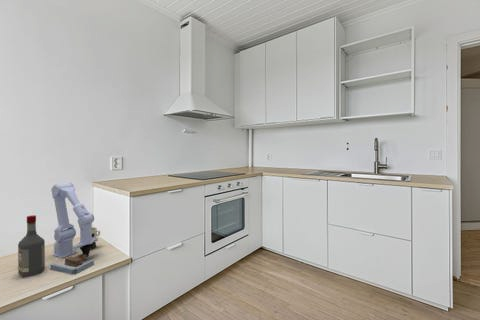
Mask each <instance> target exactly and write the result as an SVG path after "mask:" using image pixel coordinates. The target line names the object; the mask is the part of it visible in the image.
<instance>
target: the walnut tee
mask: <svg viewBox="0 0 480 320" xmlns="http://www.w3.org/2000/svg"><path fill="white" fill-rule="evenodd" d="M85 261H87V258H86V254H83V253H80V254H78V255H75V256H71V255H69V256H67V257H64V266H68V267H72V268H76V267H78V266H80V265H82V264H83V262H85Z"/></svg>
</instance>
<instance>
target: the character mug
mask: <svg viewBox="0 0 480 320" xmlns="http://www.w3.org/2000/svg"><path fill="white" fill-rule="evenodd" d="M98 236H101V230H98V227H95V226H92V238H95V237H96V238H98ZM96 242H97V241H95V242H92V244H93V246H92V248H91V250H92V249H95V248H96V247H97V244H96Z"/></svg>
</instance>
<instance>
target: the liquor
mask: <svg viewBox="0 0 480 320" xmlns="http://www.w3.org/2000/svg"><path fill="white" fill-rule="evenodd" d="M36 225H37V215H35V214H34V215H33V214H32V215H28V216H26V227H27V228H26V235H25V236H24V237H23V238H21V240H20V241H19V242H18V244H17V250H18V251H17V252H18V253H17V254H18V257H17V259H18V260H17V262H18V264H17V265H18V274H19V275H20V276H21V277H22V278H31V277H33V276H36V275H39V274H41V273H42V272H44V270H45V268H46V261H45V260H46V259H45V257H46V255H45V254H46V252H45V251H46V250H45V249H46V248H45V245H46V244H45V243H46V242H45V241H46V240H45V239H44V238H43V237H41V236H40V235H39V234H38V233H37V227H36Z"/></svg>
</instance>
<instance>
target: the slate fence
mask: <svg viewBox="0 0 480 320" xmlns="http://www.w3.org/2000/svg"><path fill="white" fill-rule="evenodd" d="M94 260H95V259H91V260H89V261H86V262H84V263H82V265H80V266H78V267H73V266H68V265H62V264H59V263H51V264H50V265H49V269H50V270H53V271H57V272H61V273H65V274H70V275H73V274H74V275H76V274H78V273H80V272H82V271H84V270H86V269H88V268H89V267H92V266H94V264H95V261H94Z"/></svg>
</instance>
